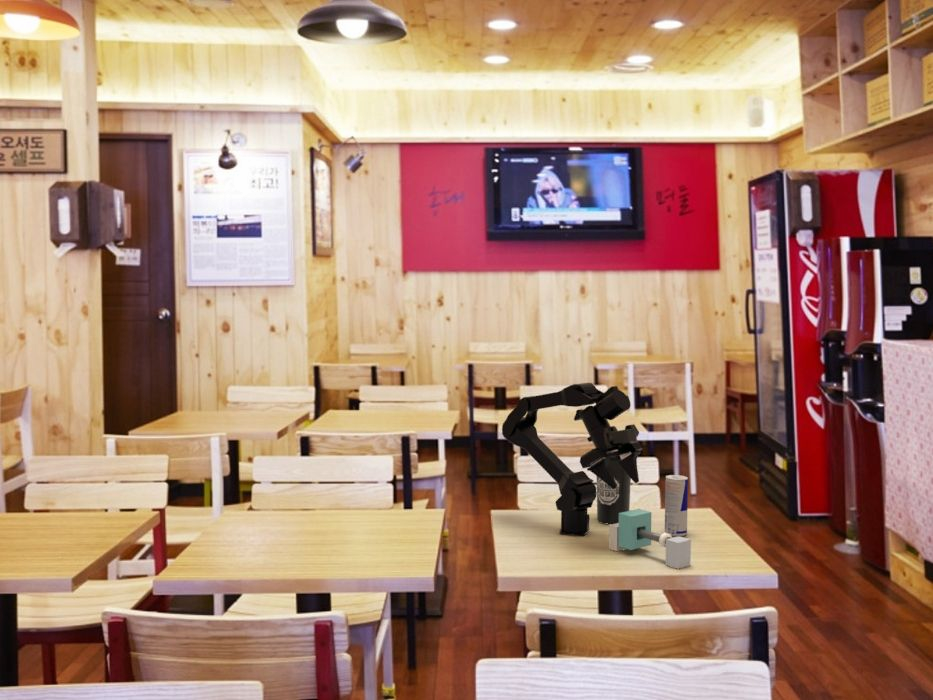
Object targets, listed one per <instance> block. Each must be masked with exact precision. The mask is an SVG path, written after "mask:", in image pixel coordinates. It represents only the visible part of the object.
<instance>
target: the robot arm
mask: <svg viewBox="0 0 933 700" xmlns="http://www.w3.org/2000/svg"><path fill="white" fill-rule="evenodd" d="M560 406H564V407H573V408H574V407H575V408H579V407H584V406H586V407H585V408H584V409H581V408H580V409H577V410H576V411H575V415H574V417H573V421H575V422H576V421H582V422H583V425H584V427H585V429H586V431H587V434H588V435H589V436H588V437H587V438H586V439H587V441H588V443H590V442H592V443H593V445H594V447H595V448H596V449H595V448H592V449H591V450H589V451H587V452H585V453H584V454H582V455H580V458H579V463H580V465H581V468H582V469H586V470H587V471H588V472H589V471H590V472H591V473H592V474H593V475H595V476H596V477H597V476H598V477H599V478H600V479H601V480H603V481H604V482H605V483H606V484H608V485H609V486H610V487H611V488H612V489H615V488H617V486H616V482H615V480H614V477H613V475H612V472H611V470H610V467H609V462H610V458H611V457H615V456H616V458H617V459H619V460H620V461H619V462H618V463H619V464H620V465H621V467H622V468H623V469H624V470H625V472H626V473H627V474H628V475H629V477H630V478H631V480H632V481H633V483H634V484H637V483H639V482H640V479H639V478H640V477H639V473H638V472H639V471H638V464H637V463H638V462H637V461H638V458H639V457H638V456H639V455H640V454H641V451H642V450H643V447H642V445H641V443H640V441H638V440H637V438H638V436H639V434H640V431H639V430H638V428H637V427H636V425H635V424H628V425H625V427H624V429H621V430H620V429H619V430H618V428H617V427H616V426H615V425H611V424H610V422H609V421H612V420H614V419H616V418H618V417H619V416H620V415H622V414H623V413H625V412H626V411H628V410H629V409H630V408H631V401H630V398H629V396H628V395H626V394H625V392H623V391H622V390H620V389H619V388H618V386H617V385H615V386H614V385H613V386H610V387H609V388H608V389H607V390H606V391H604V392H603V391H601V390H599V389H598V388H597V387H596V386H595V385H594V383H592V382H583V383H573V384H570V385H568V386H566V387H564V388H562V389H561V390H559V391H556V392H551V393H544V394H539V395H531V396H530V395H529V396H523V397H522V398H520V399H519V401H518V403H517V405H516V406H515V407H514V408H513V409H512V410H511V411H510V412H509V413H508V415H507V417H506V419H505V420H504V422H502V426H501V427H502V428H501V429H502V430H501V431H502V433H501V434H502V436H503V437H504V439H505V440H507V441H508V442H509V443H511V445H514V446H517V447H519V448H521V449H523V450H525V451H526V452H527V453H528V454H529V455H530V457H532V458H533V459H534V460H535V461H536V463H537V464H538V465H539V466H541V468H542V469H543V470H544V471H545V472H546V473H547V474H548V475H549V476H550V477H551V478H552V479H553V480H554V481H555V482H556V483H557V485H558V490H559V493H560V495H561V496H560V497H559V498H558V499H556V501H555V503H554V504H555V506H556V510H557V511H560V521H561V522H560V530H559V532H558V533H559V535H570V536H579V537H584V536H585V535H587V533H588V532H589V531H590V514H588V509H589V508H592V507H593V504H594V501H595V500H596V499H597V485H595V483H594V480H593V479H591V478H590V477H589V475H587V473H586V472H585V471H583V470H581V471H579V470H578V471H575V472H574V471H572V470H571V469H570V467H568V466H567V465H566V463H564V461H562V459H560V457H558V456H557V455H556V454H555V452H553V451H552V450H551V449H550V447H548V445H546V443H544V441H542V439H540V438H539V435H538V431H537V430H538V429H537V427H536V426H535V425H536V423H537V420H538V411H539V410H542V409H547V408H553V407H560Z"/></svg>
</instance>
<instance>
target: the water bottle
mask: <svg viewBox="0 0 933 700" xmlns="http://www.w3.org/2000/svg"><path fill="white" fill-rule="evenodd" d="M594 449H596V448H594ZM619 461H620V460H619V459H617V458H616V456H615V457H611V458H610V462H609V467H610V470H611V472H612V475H613V477H614V480H615V482H616V486H617V488H615V489H612V488H611V487H610V486H609V485H608V484H606V483H605V482H604V481H603V480H601V479H600V478H599V477H598V476H596V492H597V494H596V508H597V510H596V512H597V513H596V514H597V516H596V517H597V518H596V519H597V520H598V521H599V522H598V521H597V522H598V523H600V522H602V523H601V524H603V523H608V524H616V523H619V513H622V512H626V511H630V505H631V504H630V502H631V483H632V482H631V480H632V479H631V478H630V477H629V475H628V474H627V473H626V472H625V470H624V469H623V468H622V467H621V465H620V464H619V463H618V462H619ZM608 524H607V525H608Z"/></svg>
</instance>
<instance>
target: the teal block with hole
mask: <svg viewBox="0 0 933 700" xmlns="http://www.w3.org/2000/svg"><path fill="white" fill-rule="evenodd" d="M637 528H639V529H643V530H646V531H650V532H652V511H649V510H645V509H641V508H637V509H632V510H629V511H626V512H622V513H619V534H618V546H620V547H623V548H626V550H629V551H632V550H636V549H640V548H645V547H648V546H651V545H652V540H650V539H646V538H643V537H640V536H637Z"/></svg>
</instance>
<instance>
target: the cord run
mask: <svg viewBox="0 0 933 700" xmlns="http://www.w3.org/2000/svg"><path fill="white" fill-rule="evenodd" d="M618 534H619V523H616V524H611V525H609V534H608V537H609V540H608V541H609V542H608V545H609V547H608V549H609V550H610V549H612V550H611V551H613V550H615V551H614V552H616V551H618V552H620V551H619V550H622V551H624V550H623V549H626V548H623V547H620V546H618ZM637 536H640V537H643V538H646V539H650V540H651V541H654V542H657V543H658V544H659V545H660V547H663V548H665V566H666V565H668V566H667V567H669V566H670V567H671V568H673V569H676V568H677V569H676V570H679V568H680V569H683V568H687V567H690V566H691V558H692V557H691V555H692V551H691V550H692V549H691V548H692V540H691V539H690V538H686V537H684V536H678V537H675V536H671V535H670V534H668V533H665V532H662V533H657V532H653V531H651V532H650V531H646V530H643V529H639V528H637ZM626 550H627V549H626Z"/></svg>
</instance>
